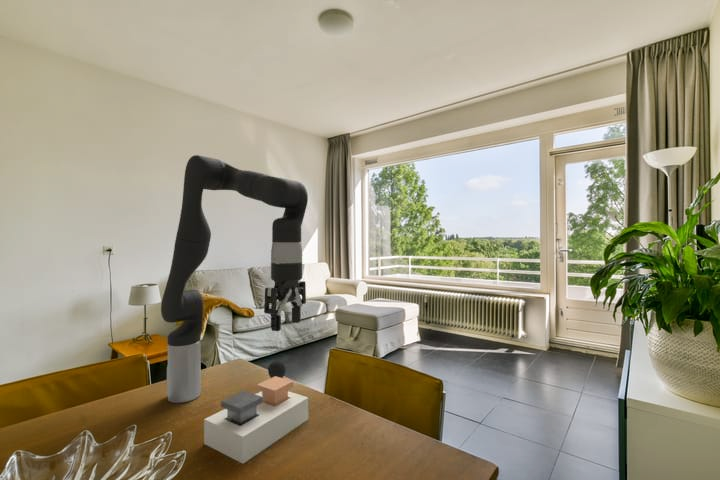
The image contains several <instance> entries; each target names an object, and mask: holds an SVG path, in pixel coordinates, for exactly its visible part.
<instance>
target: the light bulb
mask: <svg viewBox="0 0 720 480" xmlns="http://www.w3.org/2000/svg"><path fill="white" fill-rule="evenodd" d="M286 370H287V367H286V364H285V363H284V362H283V361H282V360H279V359H276V360H272V362H271V363H270V364H269V366H268V368H267V372H268V376H269V377H270V378H273V377H275V376H276V377H280V378H283V379H284V376H285V375H286Z"/></svg>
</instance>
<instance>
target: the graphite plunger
mask: <svg viewBox="0 0 720 480" xmlns="http://www.w3.org/2000/svg"><path fill="white" fill-rule="evenodd" d="M255 394H256V393H252V392H249V391H246V390H242V391H241V392H238V393H236V394H234V395H231V396H229V397H227V398H225V399H223V400H221V401H220V404H221V405H220V406H221V408H223V409H227V421H229V422H232V423H234V424H236V425H239V426H242V425H243V424H245V423H247V422H249V421H250V420H252V419H254V418H256V417H257V405H259V404H261V403H263V397H261V396H258V395H255Z"/></svg>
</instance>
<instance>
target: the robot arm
mask: <svg viewBox="0 0 720 480" xmlns="http://www.w3.org/2000/svg"><path fill="white" fill-rule="evenodd" d="M183 178H184V179H183V189H182V190H183V192H182V201H181V202H182V203H181V210H180V215H179V216H180V217H179V221H178V227H177V231H176V236H175V241H174V248H173V254H172V260H171V265H170V271H169V274H168V277H167V281H166V284H165V288H164V291H163V295H162V299H161V305H160V312H161V313H160V314H161V317H162V319H163V321H165V322H166V323H171V324H173V323H178V322H182V323H181V324H180V325H179V326H178V327H177V328H176V329H174V330H172V331H171V332H170V333H169V334H168V336H167V366H166V397H167V401H168V402H170V403H173V404H182V403H188V402H190V401H193V400H195V399H197V398H199V397H200V395H201V388H202V387H201V385H202V384H201V380H202V379H201V378H202V377H201V376H202V375H201V366H202V365H201V364H202V363H201V361H202V359H201V355H202V354H201V349H202V348H201V338H202V336H201V335H202V332H203V326H204V325H203V323H204V322H203V320H204V300H203V296H202V294H201V292H200V291H199V290H198V289H187V290H185V288H186V286H187V285H186V284H187V283H188V281H189V279H190V278H191V276H192V275H193V274H194V273H195V272H196V271H197V269H198V268H199V267H200V266H201V264H202V263H203V262H204V261H205V260H206V258H207V256H208V252H209V247H210V242H211V238H212V233H211V232H212V231H211V228H210V225H209V223H208V220H207V218H206V216H205V214H204V211H203V207H202V206H203V205H202V202H203V192H204V190H207V191H208V190H209V191H234V192H237V193H239V194H240V195H242V196H243V197H245V198H249V199H253V200H255V201H260V202H262V203H263V204H266V205H268V206H270V207H275V208H280V209H281V208H282V209H284V212H283V215H282V216H281V217H277V218H275V219H274V220H273V222H272V225H271V226H272V228H271V231H272V233H271V235H272V236H271V237H272V238H271V240H272V241H271V242H272V243H271V250H270V279H271V281H274V286H273V287H267V286H266V287H265V289H264V307H263V308H264V309H263V312H264V314H267V315H270V328H271V331H273V332H280V331H281V330H282V311H283V308H285V307H286V305H287V304H288V303H290V305H291V322H292V323H295V324H296V323H297V324H298V323H300V322H301V318H302V317H301V313H302V312H301V310H302V309H301V308H302V307H303V305H305V304H306V303H307V299H306V298H307V296H306V295H307V293H306V292H307V291H306V289H307V287H306V286H307V285H306V281H304V280H303V281H302V279H303V247H302V225H303V222H304V218H305V214H306V210H307V206H308V200H309V196H308V195H309V194H308V190H307V188H306V186H305V185H304V184H303V183H302V182H300V181H298V180H292V179H288V178H282V177H276V176H272V175H269V174H265V173H262V172H257V171H252V170H244V169H239V168H236V167H234V166H232V165H230V164H228V163H226V162H225V161H222V160H220V159H217V158H213V157H209V156H204V155H199V154H198V155H197V154H195V155H191V157H190V158H189V159H188V161H187V162H186V166H185V171H184V177H183ZM270 304H271V305H270Z"/></svg>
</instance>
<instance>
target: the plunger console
mask: <svg viewBox="0 0 720 480" xmlns="http://www.w3.org/2000/svg"><path fill="white" fill-rule="evenodd" d="M254 394H255V395H258V396H261V397H262V392H261V391H259V392H257V393H254ZM308 420H309V397H308V396H305V395H301V394H299V393H295V392H292V391H289V390H288V400H286V401H284V402H282V403H281V404H279V405H277V406H272V405H269V404H266V403H261V404H259V405H257V417H256V418H254V419H252V420H250V421H249V422H247V423H245V424H243V425H242V426H239V425H236V424H234V423H232V422H229V421H227V409H225V408H223V409H222V410H219V411H218V412H215V413H214V414H211V415H210V416H208V417H206V418H204V419H203V431H204V432H203V437H204V438H203V439H204V440H203V443H204V444H203V445H205V446H208V447H209V448H211V449H214V450H215V451H218V452H219V453H221V454H223V455H225V456H227V457H229V458H230V459H233V460H235V461H237V462H238V463H241V464H245V463H246V462H248V461H249V460H251V459H252V458H254V457H256V456H257V455H259V453H262V452H263V451H264V450H266V449H268V448H269V447H270V446H271V445H273V444H275V443H276V442H277V441H279V440H280V439H282V438H283V437H285V436H286V435H287V434H289V433H290V432H292V431H293V430H296V429H297V427H299V426H301V425H302V424H304V423H305V422H306V421H308Z"/></svg>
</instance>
